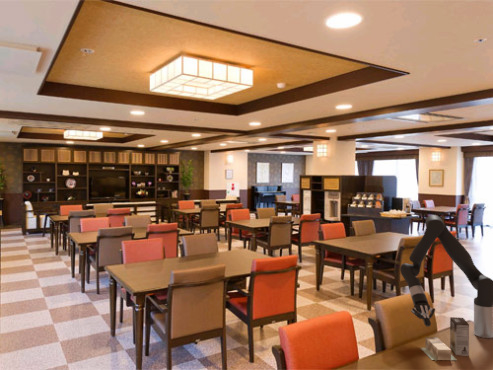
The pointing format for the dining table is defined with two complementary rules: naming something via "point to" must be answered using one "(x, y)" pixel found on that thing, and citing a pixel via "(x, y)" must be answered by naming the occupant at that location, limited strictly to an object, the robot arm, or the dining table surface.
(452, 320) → the coffee box
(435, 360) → the mat
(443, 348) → the maple block
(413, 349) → the dining table surface
